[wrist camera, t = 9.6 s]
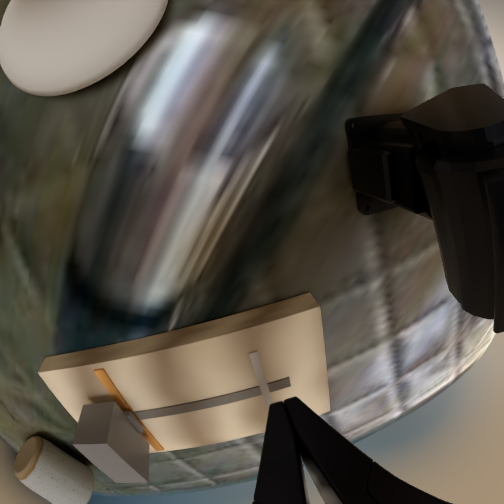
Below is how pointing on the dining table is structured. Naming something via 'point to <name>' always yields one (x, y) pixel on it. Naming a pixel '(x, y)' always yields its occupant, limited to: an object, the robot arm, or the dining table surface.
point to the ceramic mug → (53, 473)
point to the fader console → (203, 375)
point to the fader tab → (113, 442)
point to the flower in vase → (72, 41)
